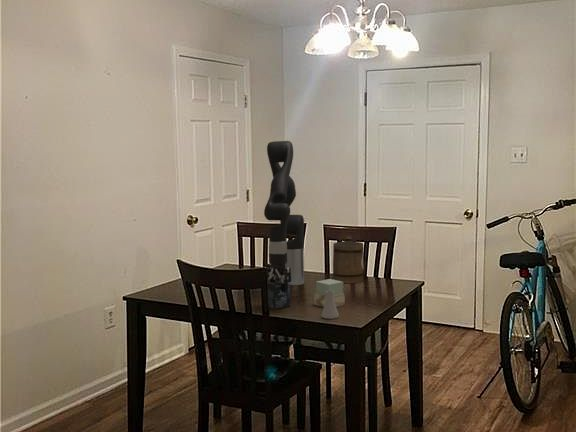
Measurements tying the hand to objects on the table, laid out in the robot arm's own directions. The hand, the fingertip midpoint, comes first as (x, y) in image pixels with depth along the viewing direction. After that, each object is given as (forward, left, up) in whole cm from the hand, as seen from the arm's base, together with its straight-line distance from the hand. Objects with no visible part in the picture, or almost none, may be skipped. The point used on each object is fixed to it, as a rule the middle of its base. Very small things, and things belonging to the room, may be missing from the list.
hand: (278, 290), depth 268 cm
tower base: (+11, +18, -7) cm, 22 cm away
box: (0, 0, -7) cm, 7 cm away
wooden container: (-18, +56, -7) cm, 59 cm away
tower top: (+11, +18, -2) cm, 21 cm away
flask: (+25, +6, -7) cm, 27 cm away
